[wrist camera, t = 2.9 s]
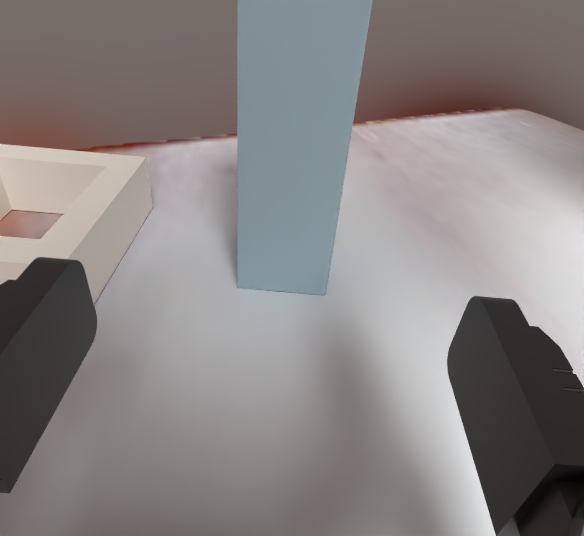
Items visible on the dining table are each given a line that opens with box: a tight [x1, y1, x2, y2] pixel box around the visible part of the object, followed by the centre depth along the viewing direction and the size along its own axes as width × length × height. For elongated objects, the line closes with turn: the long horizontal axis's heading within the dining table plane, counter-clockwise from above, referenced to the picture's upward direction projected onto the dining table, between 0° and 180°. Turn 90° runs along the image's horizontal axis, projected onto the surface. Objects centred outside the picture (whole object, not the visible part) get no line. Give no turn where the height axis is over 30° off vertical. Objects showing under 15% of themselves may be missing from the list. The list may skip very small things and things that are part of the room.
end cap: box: [0, 144, 153, 304], centre depth 20 cm, size 9×10×3 cm
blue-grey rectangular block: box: [237, 0, 372, 295], centre depth 18 cm, size 4×5×12 cm
